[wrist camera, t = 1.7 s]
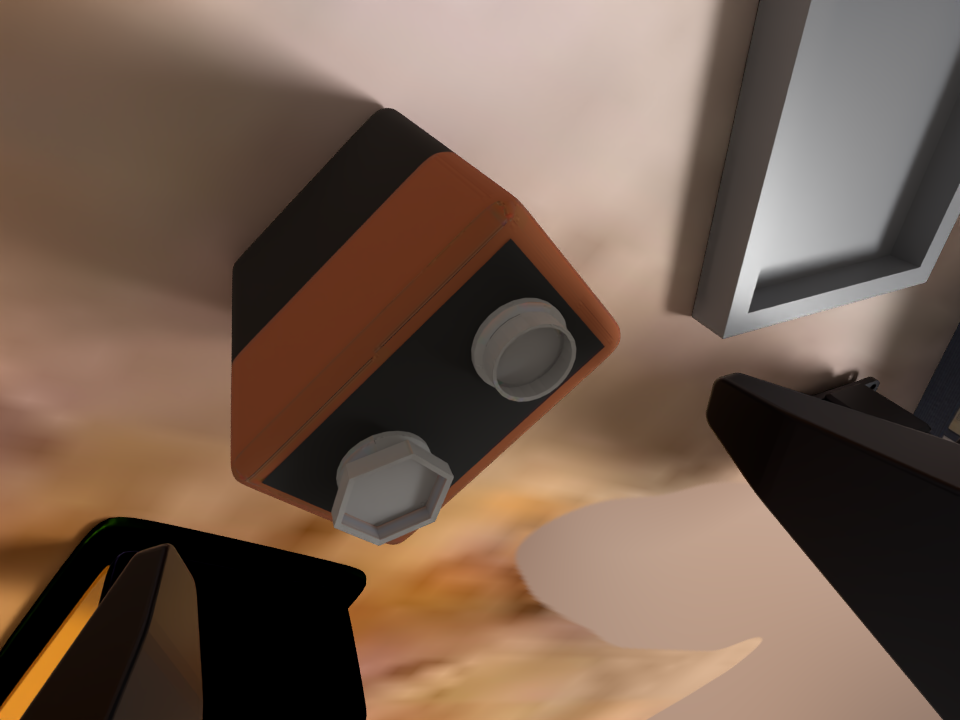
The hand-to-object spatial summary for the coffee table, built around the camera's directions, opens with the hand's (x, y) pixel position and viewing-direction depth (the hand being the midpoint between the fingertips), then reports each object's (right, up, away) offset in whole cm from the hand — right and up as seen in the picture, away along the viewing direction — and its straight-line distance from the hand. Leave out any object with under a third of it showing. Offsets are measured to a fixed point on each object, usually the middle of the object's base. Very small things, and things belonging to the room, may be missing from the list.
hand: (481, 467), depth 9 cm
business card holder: (-13, -10, +15) cm, 23 cm away
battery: (-4, +6, +8) cm, 11 cm away
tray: (+15, +10, +13) cm, 23 cm away
